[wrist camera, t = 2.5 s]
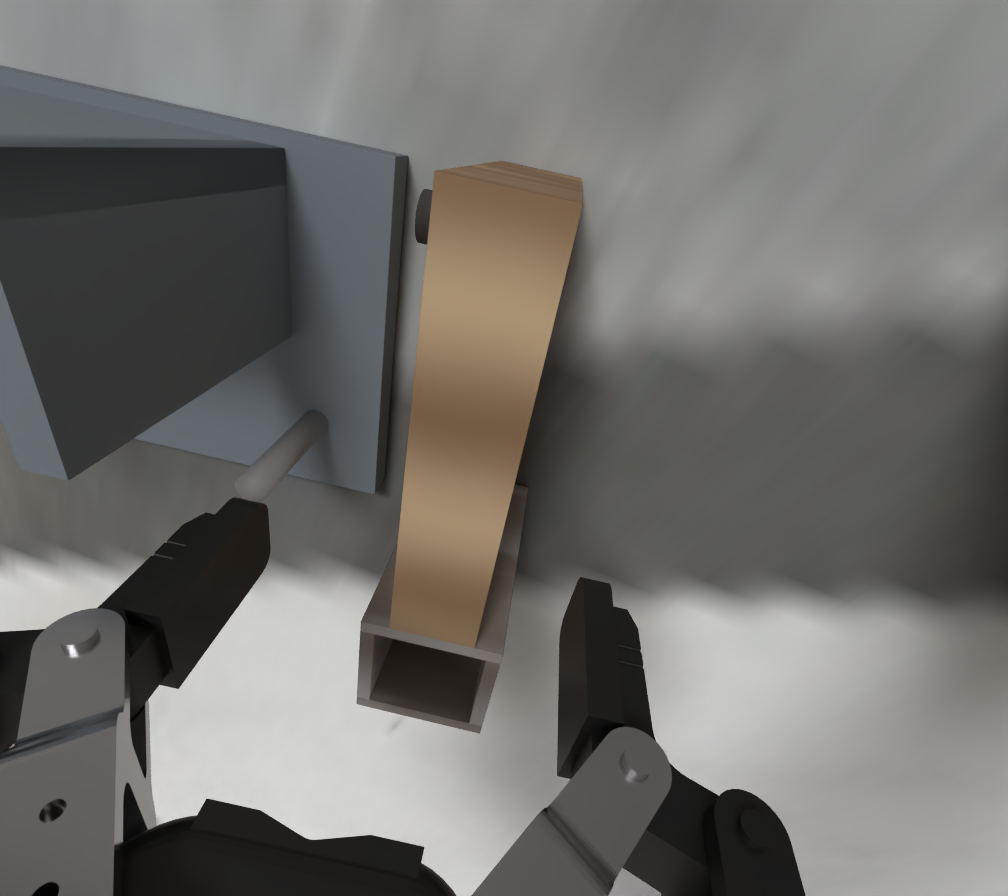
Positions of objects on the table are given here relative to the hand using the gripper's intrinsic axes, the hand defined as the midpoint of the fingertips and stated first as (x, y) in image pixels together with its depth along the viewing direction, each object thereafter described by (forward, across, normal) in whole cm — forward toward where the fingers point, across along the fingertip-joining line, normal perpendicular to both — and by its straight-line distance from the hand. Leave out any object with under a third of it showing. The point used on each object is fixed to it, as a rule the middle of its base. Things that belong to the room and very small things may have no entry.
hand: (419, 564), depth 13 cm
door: (+12, -1, +1) cm, 12 cm away
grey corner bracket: (+12, +15, -1) cm, 19 cm away
